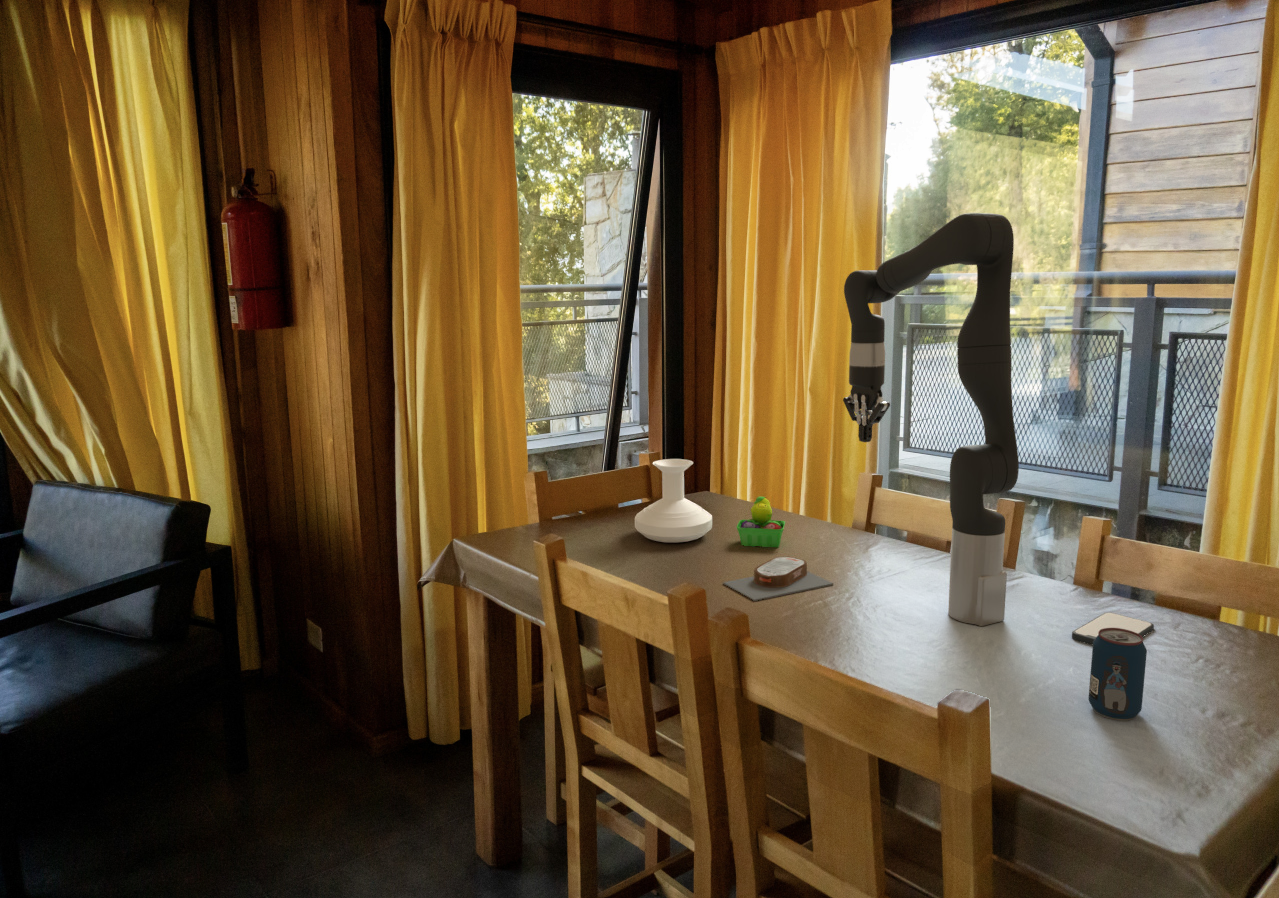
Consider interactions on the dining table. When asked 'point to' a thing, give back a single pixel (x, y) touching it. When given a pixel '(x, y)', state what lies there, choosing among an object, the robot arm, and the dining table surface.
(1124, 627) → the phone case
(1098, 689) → the soda can
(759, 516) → the fruit basket
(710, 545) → the dining table surface
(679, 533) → the white vase
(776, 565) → the tin
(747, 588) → the mat
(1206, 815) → the dining table surface
